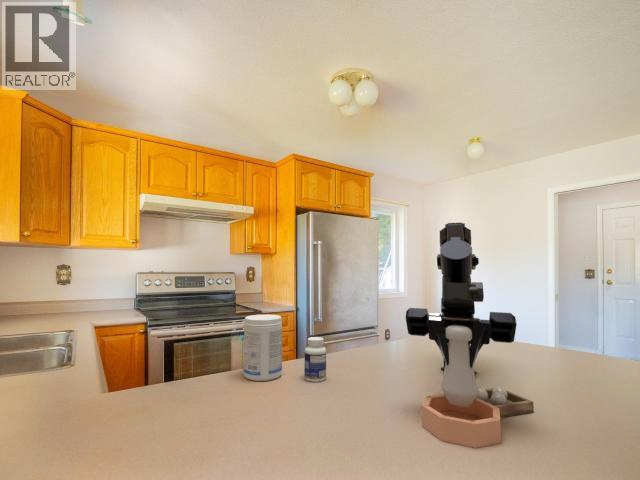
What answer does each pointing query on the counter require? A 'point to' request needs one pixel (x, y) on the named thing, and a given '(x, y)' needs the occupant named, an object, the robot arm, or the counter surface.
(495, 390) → the white ball
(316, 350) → the pill bottle
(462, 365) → the salt shaker
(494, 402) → the pebble
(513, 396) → the pebble tray
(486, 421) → the bowl
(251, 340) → the supplement tub
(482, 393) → the pebble
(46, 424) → the counter surface
